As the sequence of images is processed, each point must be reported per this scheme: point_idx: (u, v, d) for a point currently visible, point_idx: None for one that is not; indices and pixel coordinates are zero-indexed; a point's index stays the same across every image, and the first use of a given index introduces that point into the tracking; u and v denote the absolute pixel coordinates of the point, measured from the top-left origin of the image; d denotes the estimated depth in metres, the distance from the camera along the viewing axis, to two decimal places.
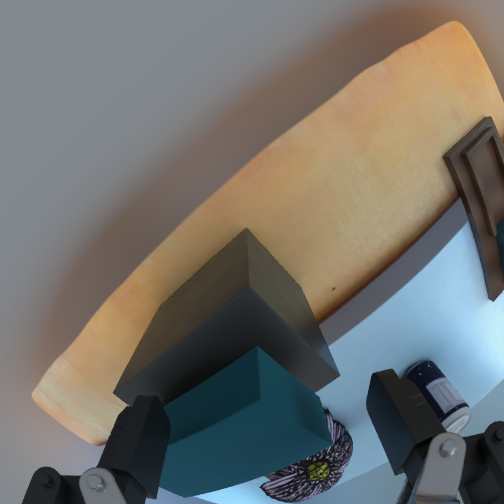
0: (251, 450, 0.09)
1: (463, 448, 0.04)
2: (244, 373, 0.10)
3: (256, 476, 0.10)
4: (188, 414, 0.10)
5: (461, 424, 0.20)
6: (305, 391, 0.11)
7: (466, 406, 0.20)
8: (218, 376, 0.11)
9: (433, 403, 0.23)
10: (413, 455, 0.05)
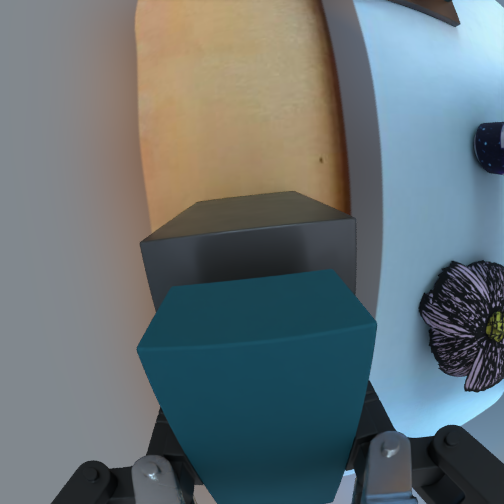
0: (263, 424, 0.06)
1: (407, 449, 0.05)
2: None
3: (347, 443, 0.06)
4: None
5: None
6: (286, 281, 0.07)
7: None
8: None
9: None
10: (358, 451, 0.06)
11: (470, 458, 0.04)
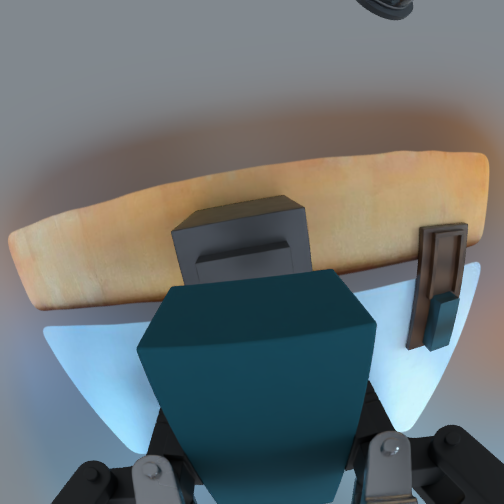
0: (263, 424, 0.06)
1: (407, 449, 0.05)
2: None
3: (347, 443, 0.06)
4: None
5: None
6: (285, 281, 0.07)
7: None
8: None
9: None
10: (358, 451, 0.06)
11: (470, 458, 0.04)
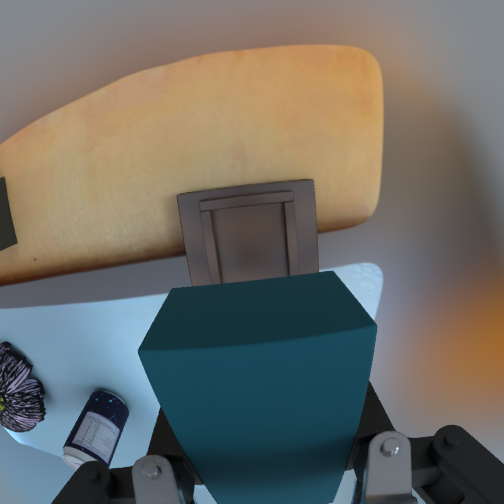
0: (263, 425, 0.06)
1: (407, 449, 0.05)
2: None
3: (347, 444, 0.06)
4: None
5: None
6: (286, 283, 0.07)
7: (95, 459, 0.19)
8: None
9: (76, 428, 0.21)
10: (358, 451, 0.06)
11: (470, 458, 0.04)
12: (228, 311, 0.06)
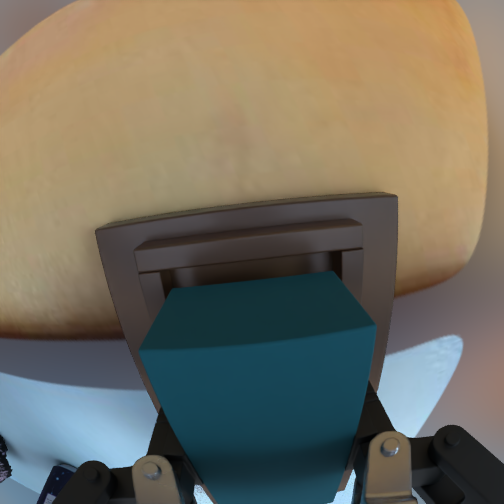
0: (264, 425, 0.06)
1: (407, 449, 0.05)
2: None
3: (347, 444, 0.06)
4: None
5: None
6: (286, 283, 0.07)
7: None
8: None
9: None
10: (358, 451, 0.06)
11: (470, 458, 0.04)
12: (228, 311, 0.06)
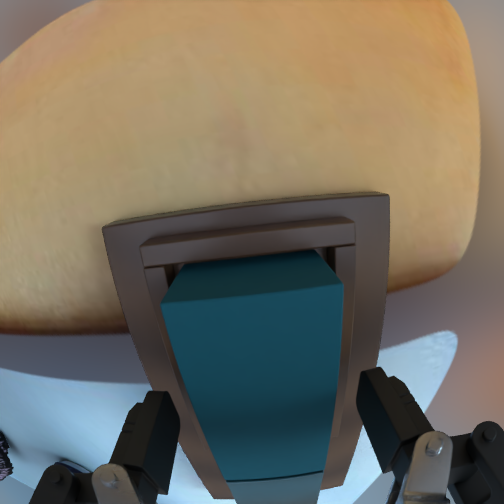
0: (257, 372, 0.08)
1: (450, 447, 0.04)
2: None
3: (330, 398, 0.08)
4: None
5: None
6: (276, 258, 0.09)
7: None
8: None
9: None
10: (400, 453, 0.05)
11: (501, 456, 0.03)
12: (229, 276, 0.08)
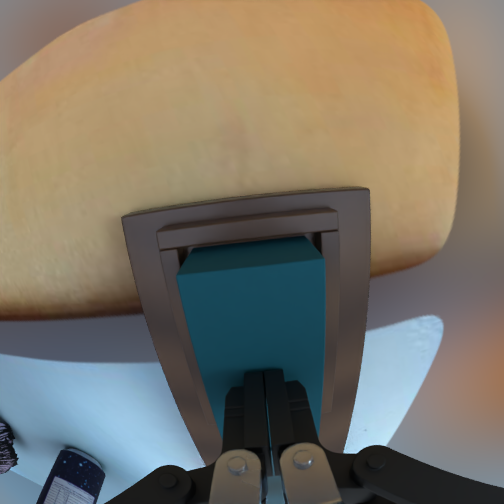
0: (256, 335, 0.09)
1: (321, 465, 0.05)
2: None
3: (319, 363, 0.10)
4: None
5: None
6: (271, 242, 0.11)
7: None
8: None
9: (43, 495, 0.11)
10: (279, 458, 0.06)
11: (403, 476, 0.04)
12: (232, 255, 0.10)
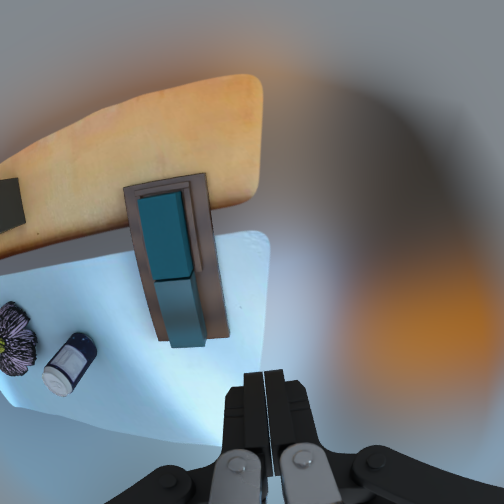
0: (158, 217, 0.31)
1: (321, 465, 0.05)
2: None
3: (179, 229, 0.31)
4: None
5: (59, 387, 0.29)
6: (168, 193, 0.32)
7: (64, 375, 0.30)
8: None
9: (55, 355, 0.32)
10: (279, 458, 0.06)
11: (404, 476, 0.04)
12: None
